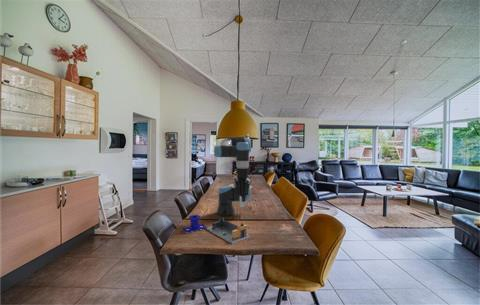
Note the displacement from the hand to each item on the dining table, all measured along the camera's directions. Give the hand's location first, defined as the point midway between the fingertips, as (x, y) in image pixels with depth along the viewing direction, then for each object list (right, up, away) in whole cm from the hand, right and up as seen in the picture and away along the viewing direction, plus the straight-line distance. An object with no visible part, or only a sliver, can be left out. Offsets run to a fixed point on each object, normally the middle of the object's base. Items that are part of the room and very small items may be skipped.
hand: (242, 206), depth 127 cm
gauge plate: (-10, -21, +12) cm, 26 cm away
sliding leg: (-2, -19, +4) cm, 20 cm away
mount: (-33, -21, +18) cm, 43 cm away
